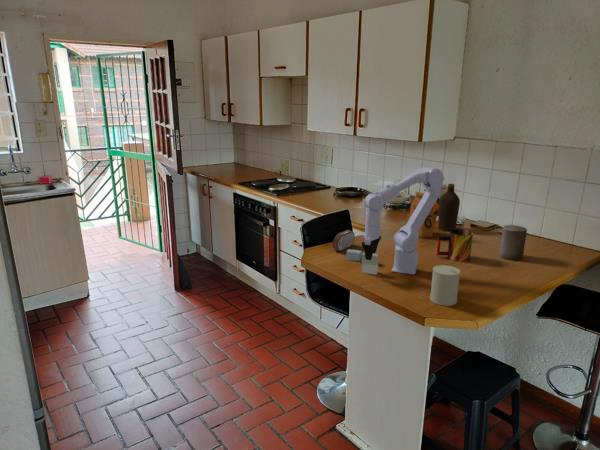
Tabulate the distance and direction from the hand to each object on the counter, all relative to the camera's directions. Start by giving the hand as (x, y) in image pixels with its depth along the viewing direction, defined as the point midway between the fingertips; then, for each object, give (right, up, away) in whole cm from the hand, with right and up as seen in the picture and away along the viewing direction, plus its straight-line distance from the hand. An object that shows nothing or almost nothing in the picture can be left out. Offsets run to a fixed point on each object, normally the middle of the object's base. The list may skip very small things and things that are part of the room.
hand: (370, 256), depth 177 cm
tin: (-8, +1, +30) cm, 31 cm away
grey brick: (0, -7, +2) cm, 7 cm away
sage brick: (0, -3, +1) cm, 3 cm away
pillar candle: (+67, -2, +21) cm, 70 cm away
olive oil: (+52, +10, +62) cm, 81 cm away
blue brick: (-5, -3, +16) cm, 17 cm away
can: (+22, -14, -22) cm, 34 cm away
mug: (+41, -2, +18) cm, 45 cm away
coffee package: (+35, +8, +52) cm, 63 cm away
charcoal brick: (+1, -4, +12) cm, 13 cm away
